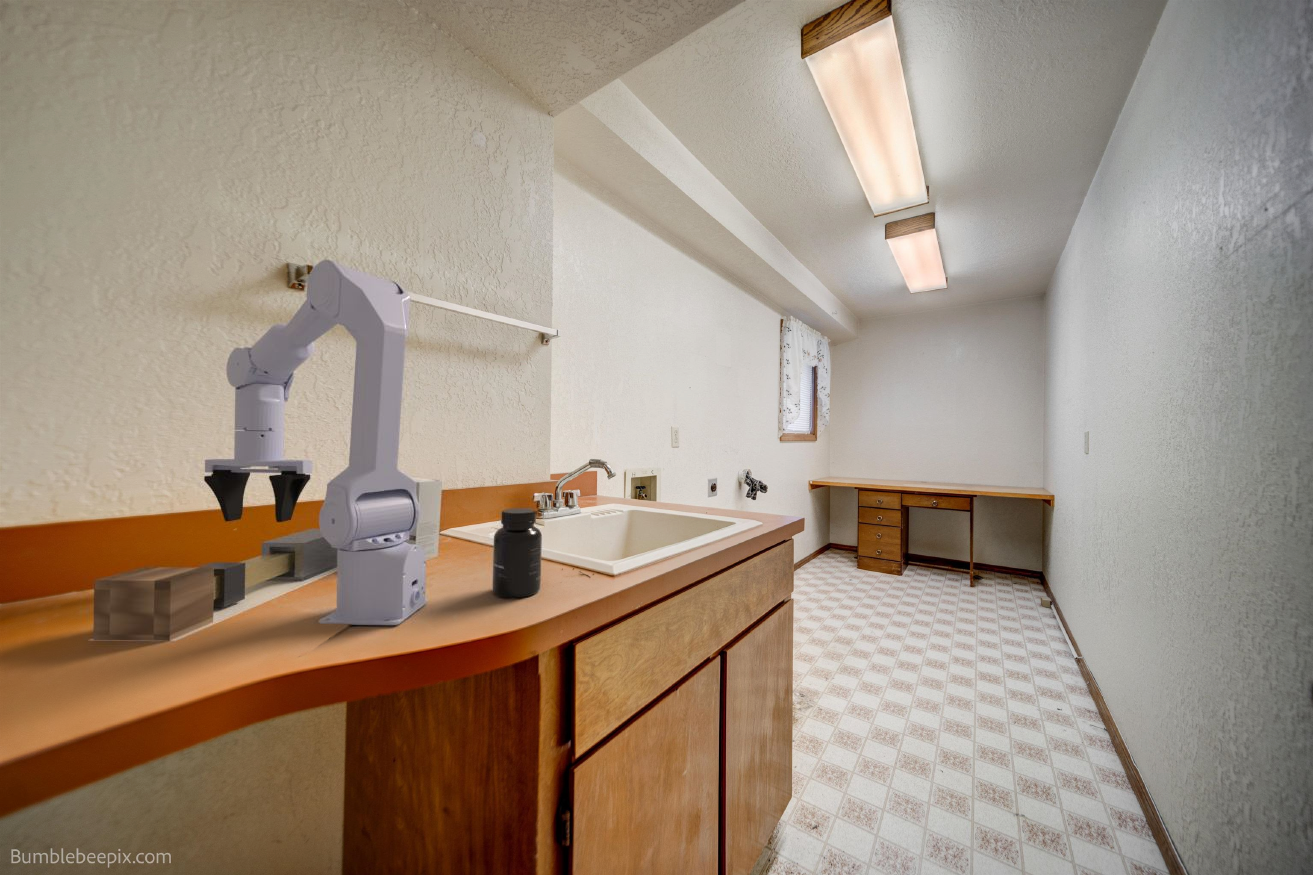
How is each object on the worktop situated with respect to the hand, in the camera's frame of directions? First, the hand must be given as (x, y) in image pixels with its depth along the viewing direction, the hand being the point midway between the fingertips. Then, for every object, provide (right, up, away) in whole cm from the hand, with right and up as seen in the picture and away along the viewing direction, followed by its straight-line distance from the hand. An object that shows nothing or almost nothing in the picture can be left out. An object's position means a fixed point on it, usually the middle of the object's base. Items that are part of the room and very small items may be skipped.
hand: (258, 520), depth 71 cm
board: (+4, -10, -5) cm, 12 cm away
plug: (+4, -9, -9) cm, 13 cm away
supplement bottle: (+40, -10, -2) cm, 41 cm away
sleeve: (+4, -9, +5) cm, 11 cm away
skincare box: (+16, -10, +14) cm, 23 cm away
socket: (+4, -9, -18) cm, 21 cm away
